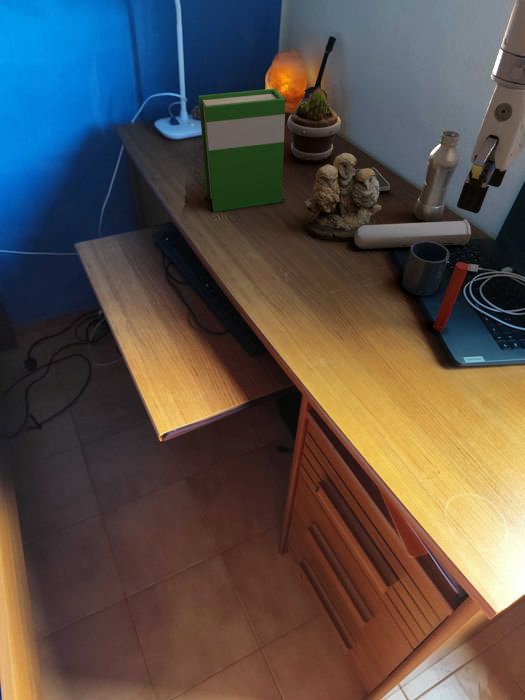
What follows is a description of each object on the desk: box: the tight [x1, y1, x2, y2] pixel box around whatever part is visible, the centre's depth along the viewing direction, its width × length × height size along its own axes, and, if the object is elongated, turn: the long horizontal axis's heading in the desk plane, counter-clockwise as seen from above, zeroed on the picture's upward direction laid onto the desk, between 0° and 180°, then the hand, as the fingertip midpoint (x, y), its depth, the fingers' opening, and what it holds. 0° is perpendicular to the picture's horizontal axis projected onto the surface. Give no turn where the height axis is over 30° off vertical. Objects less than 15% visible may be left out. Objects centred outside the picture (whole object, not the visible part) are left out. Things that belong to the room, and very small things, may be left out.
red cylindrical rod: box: [432, 261, 470, 332], centre depth 81 cm, size 2×2×14 cm
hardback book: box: [198, 88, 286, 212], centre depth 110 cm, size 18×7×24 cm, turn 106°
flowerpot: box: [286, 85, 342, 164], centre depth 129 cm, size 14×15×20 cm
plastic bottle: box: [413, 130, 460, 223], centre depth 105 cm, size 6×7×20 cm
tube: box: [353, 219, 472, 250], centre depth 103 cm, size 5×5×25 cm
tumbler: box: [401, 241, 450, 297], centre depth 92 cm, size 7×7×8 cm
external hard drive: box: [354, 167, 391, 194], centre depth 123 cm, size 7×11×2 cm, turn 13°
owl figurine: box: [303, 152, 382, 242], centre depth 103 cm, size 18×12×17 cm, turn 101°
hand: (478, 196), depth 70 cm, fingers open, 9 cm apart
